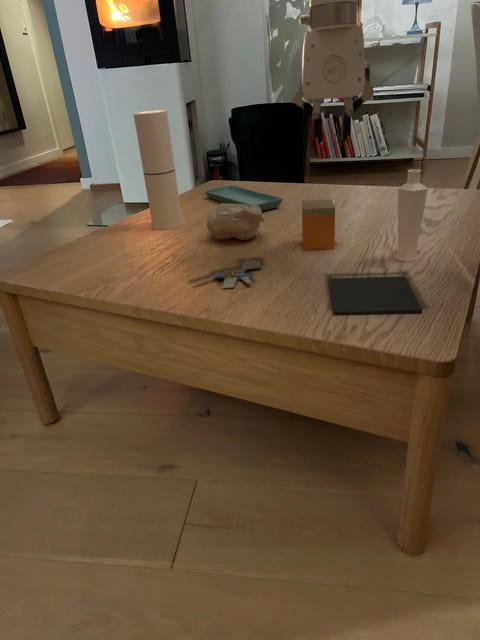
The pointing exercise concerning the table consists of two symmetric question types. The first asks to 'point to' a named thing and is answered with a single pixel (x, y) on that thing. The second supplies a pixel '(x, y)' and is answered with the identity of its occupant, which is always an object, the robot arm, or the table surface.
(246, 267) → the toy rifle
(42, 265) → the table surface
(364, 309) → the coaster
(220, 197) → the shallow long dish
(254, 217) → the fossil replica
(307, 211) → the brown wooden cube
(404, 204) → the perfume bottle
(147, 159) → the cylindrical container
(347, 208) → the table surface
